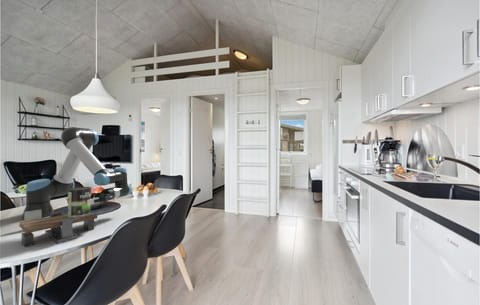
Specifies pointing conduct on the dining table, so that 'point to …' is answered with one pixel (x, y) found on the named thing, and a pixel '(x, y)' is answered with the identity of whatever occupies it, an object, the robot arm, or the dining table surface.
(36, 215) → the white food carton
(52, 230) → the pivot stand
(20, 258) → the dining table surface
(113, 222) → the dining table surface
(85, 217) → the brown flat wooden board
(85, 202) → the coffee can
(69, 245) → the dining table surface
